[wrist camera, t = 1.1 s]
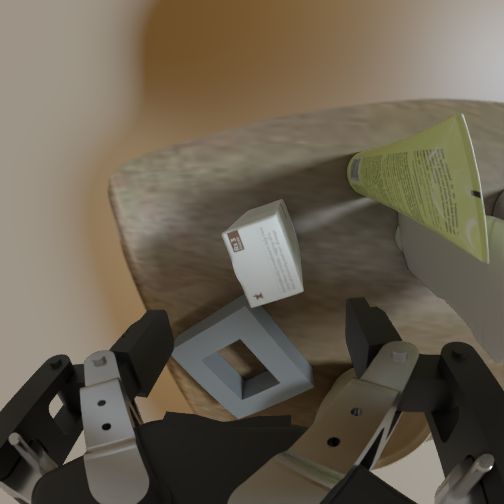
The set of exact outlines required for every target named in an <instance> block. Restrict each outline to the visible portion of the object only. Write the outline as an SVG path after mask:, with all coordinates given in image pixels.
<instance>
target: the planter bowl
mask: <svg viewBox="0 0 504 504" xmlns="http://www.w3.org/2000/svg"><path fill="white" fill-rule="evenodd" d="M353 377H355V378H357V376H356V373H355V370H354V368H351V369H349V370H348V371H346V372H344V373H343V374H342V375H340V376H339V377H338V378H337V380H336V381H335V382H334V384H333V386H332V388H331V390H330V391H329V392H328V394H327V395H326V396H325V398H324V400H323V401H322V403H321V405H320V407H319V409H318V412H317V414H316V417H315V421H316V420H317V419H318V418H319V417H320V416H321V414H322V413H323V412H324V411H325V410H326V409H327V408H328V406H329V405H330V404H331V403H332V402H333V400H334V399H335V398H336V397H337V396H338V394H339V393H340V392H341V391H342V389H343V388H344V387H345V386H346V384H347V383H348V382H349V381H350V380H351V379H352V378H353ZM315 421H314V422H315ZM430 435H431V431H430V428H429V425H428V422H427V419H426V416H425V413H424V412H403V414H402V416H401V418H400V420H399V422H398V423H397V425H396V427H395V429H394V431H393V433H392V434H391V436H390V438H389V440H388V442H387V443H386V445H385V447H384V449H383V450H382V452H381V455H380V457H379V459H378V460H377V462H376V464H375V466H374V467H373V469H372V471H374V470H378V469H381V468H384V467H387V466H390V465H392V464H394V463H396V462H398V461H400V460H402V459H404V458H405V457H407V456H408V455H410V454H411V453H413V452H414V451H416V450H417V449H418V448H419V447H420V446H421V445H422V444H423V443H424V442H425V441H426V440H427V439H428V438H429V436H430Z"/></svg>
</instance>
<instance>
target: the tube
mask: <svg viewBox="0 0 504 504" xmlns="http://www.w3.org/2000/svg"><path fill="white" fill-rule="evenodd" d="M347 177H348V181H349V183H350V185H351V187H352V188H353V189H354V190H355V191H356V192H357V193H359V194H361V195H363V196H365V197H368V198H370V199H373V200H375V201H377V202H379V203H382V204H384V205H386V206H388V207H390V208H392V209H394V210H396V211H398V212H400V213H402V214H404V215H406V216H408V217H410V218H412V219H413V220H415V221H417V222H419V223H421V224H423V225H424V226H426V227H428V228H430V229H431V230H433V231H435V232H437V233H438V234H440V235H442V236H443V237H445V238H446V239H448V240H450V241H451V242H453V243H454V244H456V245H457V246H459V247H461V248H462V249H464V250H465V251H467V252H468V253H470V254H471V255H473V256H474V257H475V258H477V259H478V260H480V261H482V262H484V263H486V264H489V251H488V238H487V226H486V217H485V210H484V203H483V197H482V191H481V184H480V179H479V173H478V168H477V164H476V159H475V155H474V150H473V146H472V142H471V138H470V135H469V131H468V128H467V124H466V121H465V118H464V115H463V114H456V115H453V116H452V117H450V118H448V119H447V120H445V121H443V122H442V123H440V124H438V125H436V126H434V127H432V128H429V129H427V130H425V131H423V132H420V133H418V134H416V135H413V136H410V137H408V138H405V139H403V140H400V141H397V142H394V143H391V144H388V145H385V146H381V147H378V148H374V149H370V150H366V151H362V152H359V153H357V154H356V155H354V156H353V157H352V159H351V160H350V162H349V164H348V168H347Z"/></svg>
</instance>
